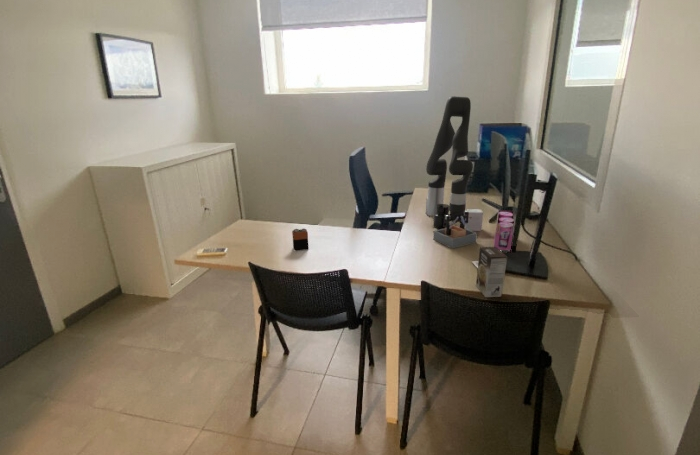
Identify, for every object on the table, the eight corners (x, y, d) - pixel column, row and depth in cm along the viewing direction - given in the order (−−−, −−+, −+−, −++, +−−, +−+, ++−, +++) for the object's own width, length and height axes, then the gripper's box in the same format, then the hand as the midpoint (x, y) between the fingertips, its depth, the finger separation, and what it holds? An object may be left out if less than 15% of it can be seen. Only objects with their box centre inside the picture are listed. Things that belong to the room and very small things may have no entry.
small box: (479, 227, 205) (481, 209, 201) (481, 231, 200) (483, 212, 196) (463, 227, 206) (465, 208, 202) (465, 231, 200) (467, 212, 197)
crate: (433, 239, 190) (433, 231, 188) (456, 233, 197) (456, 225, 195) (452, 248, 179) (453, 239, 177) (475, 242, 186) (476, 233, 184)
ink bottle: (448, 223, 211) (450, 203, 207) (452, 229, 203) (454, 207, 199) (431, 223, 212) (432, 203, 208) (433, 229, 203) (435, 208, 199)
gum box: (511, 254, 172) (515, 226, 167) (492, 252, 174) (496, 224, 170) (511, 236, 192) (515, 211, 188) (495, 234, 195) (498, 209, 190)
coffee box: (475, 285, 145) (479, 246, 139) (491, 284, 145) (496, 245, 140) (485, 297, 136) (490, 256, 131) (502, 296, 137) (508, 256, 131)
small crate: (444, 237, 190) (445, 226, 188) (451, 235, 192) (452, 224, 190) (457, 243, 183) (458, 232, 181) (464, 241, 185) (466, 230, 183)
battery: (293, 247, 182) (291, 228, 179) (307, 246, 184) (306, 226, 180) (294, 251, 178) (293, 231, 175) (308, 249, 180) (307, 229, 176)
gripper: (462, 197, 187) (460, 228, 193) (441, 202, 181) (438, 233, 186) (474, 201, 181) (471, 233, 187) (452, 206, 174) (449, 238, 180)
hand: (455, 233), depth 186 cm, fingers open, 8 cm apart
